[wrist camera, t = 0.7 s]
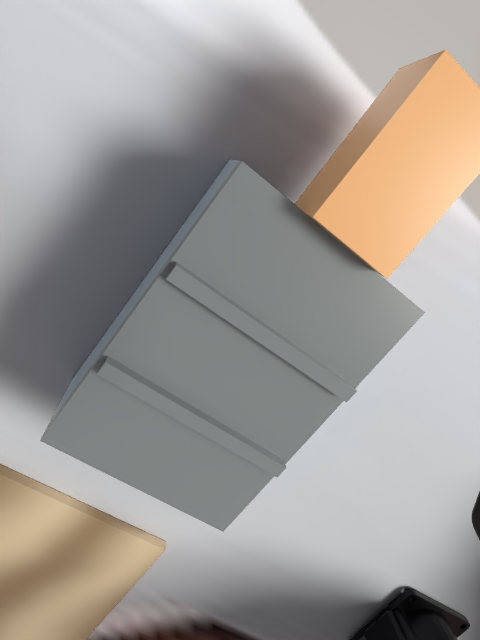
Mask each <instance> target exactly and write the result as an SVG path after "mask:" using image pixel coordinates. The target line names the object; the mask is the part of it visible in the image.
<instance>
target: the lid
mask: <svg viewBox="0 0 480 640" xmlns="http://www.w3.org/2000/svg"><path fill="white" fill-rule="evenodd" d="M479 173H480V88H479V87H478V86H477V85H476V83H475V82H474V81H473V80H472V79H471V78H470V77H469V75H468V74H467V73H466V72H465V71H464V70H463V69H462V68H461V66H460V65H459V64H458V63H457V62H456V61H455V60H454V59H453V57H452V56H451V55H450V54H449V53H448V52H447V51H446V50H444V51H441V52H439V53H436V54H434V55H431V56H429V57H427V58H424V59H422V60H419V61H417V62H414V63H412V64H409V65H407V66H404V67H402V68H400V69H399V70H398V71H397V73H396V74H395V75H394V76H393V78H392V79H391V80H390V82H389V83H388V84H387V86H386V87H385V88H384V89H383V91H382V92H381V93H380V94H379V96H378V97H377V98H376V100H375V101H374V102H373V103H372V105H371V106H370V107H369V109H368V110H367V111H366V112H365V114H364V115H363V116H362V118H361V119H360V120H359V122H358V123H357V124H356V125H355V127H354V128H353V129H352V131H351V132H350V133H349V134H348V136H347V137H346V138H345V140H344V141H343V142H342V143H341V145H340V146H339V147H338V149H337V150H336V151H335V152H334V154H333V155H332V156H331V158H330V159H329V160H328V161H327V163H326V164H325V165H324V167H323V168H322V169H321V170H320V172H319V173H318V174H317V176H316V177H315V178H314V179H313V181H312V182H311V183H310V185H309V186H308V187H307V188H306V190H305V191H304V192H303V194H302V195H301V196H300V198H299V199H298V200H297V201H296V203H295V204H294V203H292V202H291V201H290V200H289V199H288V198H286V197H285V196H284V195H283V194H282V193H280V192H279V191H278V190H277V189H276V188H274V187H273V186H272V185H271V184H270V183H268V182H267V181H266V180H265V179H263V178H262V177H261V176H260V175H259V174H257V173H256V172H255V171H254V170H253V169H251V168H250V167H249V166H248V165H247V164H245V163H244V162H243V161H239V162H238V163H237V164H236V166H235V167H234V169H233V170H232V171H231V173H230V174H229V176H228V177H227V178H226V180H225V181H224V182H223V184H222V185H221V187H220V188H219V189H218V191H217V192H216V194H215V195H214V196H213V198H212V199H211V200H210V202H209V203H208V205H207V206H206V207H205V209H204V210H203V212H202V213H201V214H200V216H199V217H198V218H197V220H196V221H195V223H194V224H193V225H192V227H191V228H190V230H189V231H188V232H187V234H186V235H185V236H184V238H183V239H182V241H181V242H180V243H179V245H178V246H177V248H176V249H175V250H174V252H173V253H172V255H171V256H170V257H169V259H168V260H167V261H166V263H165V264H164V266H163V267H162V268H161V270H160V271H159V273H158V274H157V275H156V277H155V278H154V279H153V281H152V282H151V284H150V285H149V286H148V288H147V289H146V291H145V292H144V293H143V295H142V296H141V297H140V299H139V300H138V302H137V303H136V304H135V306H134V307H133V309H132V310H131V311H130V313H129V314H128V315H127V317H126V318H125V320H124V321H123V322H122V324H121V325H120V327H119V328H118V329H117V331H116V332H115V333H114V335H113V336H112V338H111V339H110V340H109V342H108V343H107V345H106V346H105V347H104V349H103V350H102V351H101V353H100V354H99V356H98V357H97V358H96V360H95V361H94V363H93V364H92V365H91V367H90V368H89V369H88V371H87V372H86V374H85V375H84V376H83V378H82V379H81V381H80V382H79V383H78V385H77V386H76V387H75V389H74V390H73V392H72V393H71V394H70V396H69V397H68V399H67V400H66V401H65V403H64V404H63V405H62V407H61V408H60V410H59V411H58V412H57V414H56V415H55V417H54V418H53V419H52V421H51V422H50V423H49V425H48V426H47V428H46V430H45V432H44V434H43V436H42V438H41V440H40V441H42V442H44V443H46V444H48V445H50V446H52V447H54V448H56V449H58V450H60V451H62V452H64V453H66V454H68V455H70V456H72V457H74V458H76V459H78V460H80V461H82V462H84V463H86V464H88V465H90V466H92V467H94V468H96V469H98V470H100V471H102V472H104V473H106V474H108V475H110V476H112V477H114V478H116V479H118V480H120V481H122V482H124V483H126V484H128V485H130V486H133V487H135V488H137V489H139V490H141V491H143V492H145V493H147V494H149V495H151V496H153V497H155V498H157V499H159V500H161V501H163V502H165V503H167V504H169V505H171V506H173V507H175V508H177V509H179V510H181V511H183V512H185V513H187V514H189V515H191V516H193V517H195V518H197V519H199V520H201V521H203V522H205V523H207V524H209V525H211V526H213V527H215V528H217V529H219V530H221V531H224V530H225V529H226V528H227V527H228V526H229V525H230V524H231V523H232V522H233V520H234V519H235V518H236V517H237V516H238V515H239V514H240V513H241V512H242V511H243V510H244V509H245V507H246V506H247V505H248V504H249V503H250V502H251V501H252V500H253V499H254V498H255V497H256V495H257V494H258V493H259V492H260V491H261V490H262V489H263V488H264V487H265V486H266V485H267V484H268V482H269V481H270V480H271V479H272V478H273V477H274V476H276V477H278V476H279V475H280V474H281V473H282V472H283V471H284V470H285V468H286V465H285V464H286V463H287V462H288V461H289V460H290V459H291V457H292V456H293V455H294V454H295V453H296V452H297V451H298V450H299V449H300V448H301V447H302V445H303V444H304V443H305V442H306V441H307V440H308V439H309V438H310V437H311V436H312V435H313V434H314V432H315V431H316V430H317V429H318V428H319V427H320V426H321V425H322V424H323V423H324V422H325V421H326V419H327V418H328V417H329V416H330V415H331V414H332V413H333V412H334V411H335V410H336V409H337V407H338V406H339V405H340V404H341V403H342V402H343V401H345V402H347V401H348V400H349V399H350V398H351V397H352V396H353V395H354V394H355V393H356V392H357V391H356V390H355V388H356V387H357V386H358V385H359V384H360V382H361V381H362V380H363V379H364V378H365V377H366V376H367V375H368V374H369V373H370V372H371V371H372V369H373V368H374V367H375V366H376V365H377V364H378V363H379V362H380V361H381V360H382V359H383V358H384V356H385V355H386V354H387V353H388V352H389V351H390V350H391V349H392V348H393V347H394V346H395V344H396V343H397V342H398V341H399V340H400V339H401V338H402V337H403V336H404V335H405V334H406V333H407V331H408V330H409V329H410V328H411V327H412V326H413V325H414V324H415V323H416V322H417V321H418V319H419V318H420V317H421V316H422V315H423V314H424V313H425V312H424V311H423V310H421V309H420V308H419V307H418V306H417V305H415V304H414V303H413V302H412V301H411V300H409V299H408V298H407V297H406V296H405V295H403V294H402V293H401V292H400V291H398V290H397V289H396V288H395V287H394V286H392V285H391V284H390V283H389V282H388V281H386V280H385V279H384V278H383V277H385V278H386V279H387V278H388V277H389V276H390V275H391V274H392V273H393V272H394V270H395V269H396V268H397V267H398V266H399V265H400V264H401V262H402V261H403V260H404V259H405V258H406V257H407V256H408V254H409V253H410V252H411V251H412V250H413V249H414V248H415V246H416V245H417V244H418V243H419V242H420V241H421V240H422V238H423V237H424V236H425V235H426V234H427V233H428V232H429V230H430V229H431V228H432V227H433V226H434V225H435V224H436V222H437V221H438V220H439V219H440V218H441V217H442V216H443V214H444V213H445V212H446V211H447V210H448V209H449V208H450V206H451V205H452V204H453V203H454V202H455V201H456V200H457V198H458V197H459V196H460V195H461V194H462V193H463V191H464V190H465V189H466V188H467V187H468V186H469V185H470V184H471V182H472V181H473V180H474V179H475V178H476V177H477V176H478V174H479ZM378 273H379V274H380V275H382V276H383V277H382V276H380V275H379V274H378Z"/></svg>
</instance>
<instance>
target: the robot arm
mask: <svg viewBox="0 0 480 640" xmlns="http://www.w3.org/2000/svg"><path fill="white" fill-rule="evenodd" d="M472 523H473V527H474V529H475V531H476V533H477V536H478V538H479V540H480V491H479V494H478V497H477V500H476V503H475V505H474V508H473V511H472ZM469 626H470V624H469V622H468V620H467V619H466V617H464V616H462V615H460V614H459V613H457V612H455V611H453V610H451V609H449V608H447V607H445V606H444V605H442V604H440V603H438V602H436V601H434V600H432V599H431V598H429V597H427V596H425V595H423V594H421V593H419V592H417V591H416V590H413V589H408V590H406V591H404V592H403V593H402V594H401V595H400V596H399V597H398V598H397V599H395V600H394V601H393V602H392V603H391V604H390V605H389V606H388V607H387V608H385V609H384V610H383V611H382V612H381V613H380V614H379V615H378V616H377V617H375V618H374V619H373V620H372V621H371V622H370V623H369V624H368V625H366V626H365V627H364V628H363V629H362V630H361V631H360V632H359V633H358V634H356V635H355V636H354V637H353V638H352V639H351V640H458V639H457V637H459V636H460V635H461V634H462V633H463V632H465V631H466V630H467V629H468V628H469Z"/></svg>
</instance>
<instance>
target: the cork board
mask: <svg viewBox="0 0 480 640" xmlns="http://www.w3.org/2000/svg"><path fill="white" fill-rule="evenodd" d="M165 545H166V541H164V540H161V539H159V538H157V537H155V536H153V535H151V534H149V533H146V532H144V531H142V530H140V529H138V528H136V527H134V526H131V525H129V524H127V523H125V522H123V521H121V520H119V519H116V518H114V517H112V516H110V515H108V514H106V513H104V512H101V511H99V510H97V509H95V508H93V507H91V506H89V505H86V504H84V503H82V502H80V501H78V500H76V499H74V498H71V497H69V496H67V495H65V494H63V493H61V492H59V491H56V490H54V489H52V488H50V487H48V486H46V485H43V484H41V483H39V482H37V481H35V480H33V479H31V478H28V477H26V476H24V475H22V474H20V473H18V472H16V471H13V470H11V469H9V468H7V467H5V466H3V465H1V464H0V640H86V639H87V637H88V636H89V635H90V634H91V633H92V632H93V631H94V630H95V628H96V627H97V626H98V625H99V624H100V623H101V622H102V621H103V619H104V618H105V617H106V616H107V615H108V614H109V613H110V612H111V610H112V609H113V608H114V607H115V606H116V605H117V604H118V603H119V601H120V600H121V599H122V598H123V597H124V596H125V595H126V594H127V592H128V591H129V590H130V589H131V588H132V587H133V586H134V585H135V583H136V582H137V581H138V580H139V579H140V578H141V577H142V576H143V574H144V573H145V572H146V571H147V570H148V569H149V568H150V567H151V565H152V564H153V563H154V562H155V561H156V560H157V559H158V557H159V556H160V555H161V554H162V553H163V552H164V551H165Z"/></svg>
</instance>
